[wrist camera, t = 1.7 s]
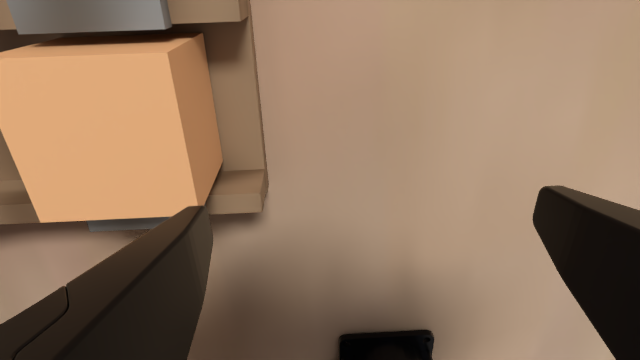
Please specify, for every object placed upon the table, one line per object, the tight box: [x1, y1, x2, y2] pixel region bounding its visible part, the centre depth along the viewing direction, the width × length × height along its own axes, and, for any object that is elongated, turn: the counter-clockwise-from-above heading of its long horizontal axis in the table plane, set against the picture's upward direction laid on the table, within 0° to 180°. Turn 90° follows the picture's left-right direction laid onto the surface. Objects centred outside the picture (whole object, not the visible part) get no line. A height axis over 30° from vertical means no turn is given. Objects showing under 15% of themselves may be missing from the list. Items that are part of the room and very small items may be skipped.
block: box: [0, 33, 223, 223], centre depth 16 cm, size 6×6×5 cm
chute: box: [0, 0, 269, 232], centre depth 17 cm, size 20×10×4 cm, turn 92°
